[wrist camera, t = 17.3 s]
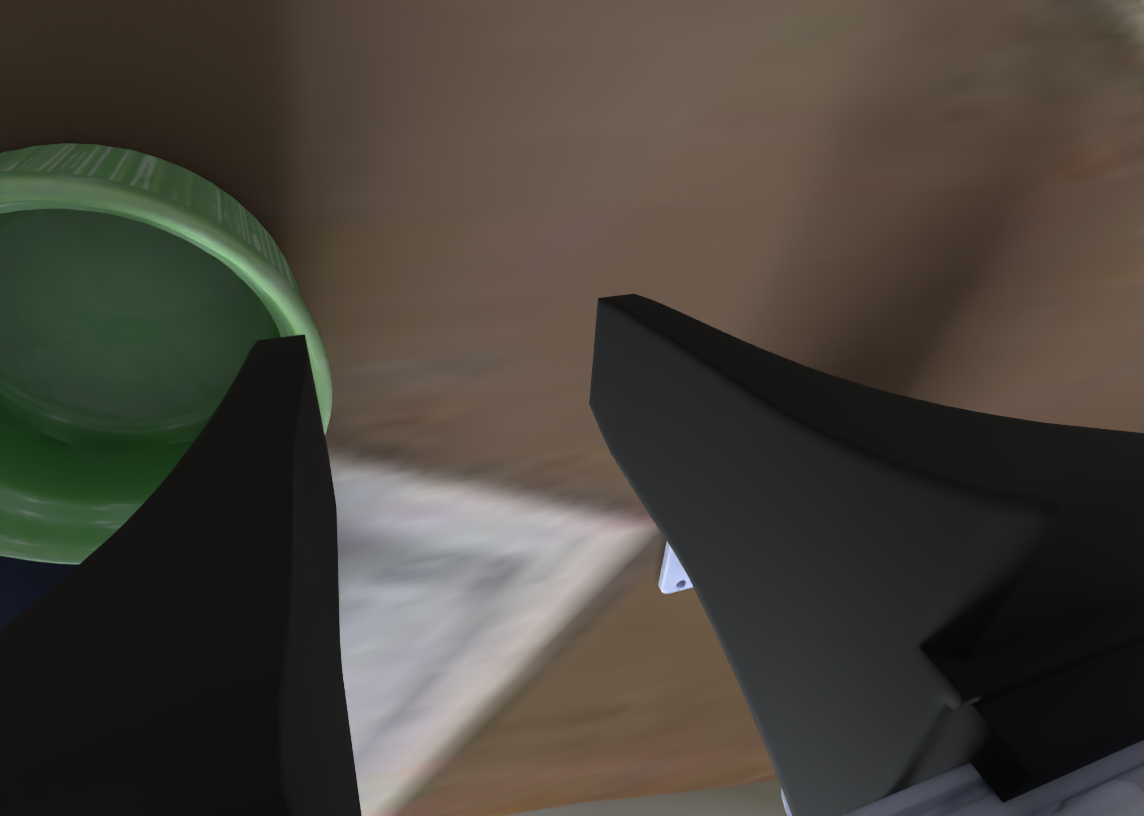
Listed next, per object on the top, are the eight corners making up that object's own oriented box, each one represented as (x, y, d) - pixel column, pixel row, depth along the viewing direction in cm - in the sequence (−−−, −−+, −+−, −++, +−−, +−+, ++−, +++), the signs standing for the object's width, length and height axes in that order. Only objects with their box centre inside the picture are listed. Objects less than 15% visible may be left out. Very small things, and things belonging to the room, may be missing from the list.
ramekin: (318, 136, 17) (334, 199, 13) (319, 440, 21) (332, 543, 18) (-195, 83, 13) (-345, 152, 10) (-54, 462, 18) (-124, 594, 15)
